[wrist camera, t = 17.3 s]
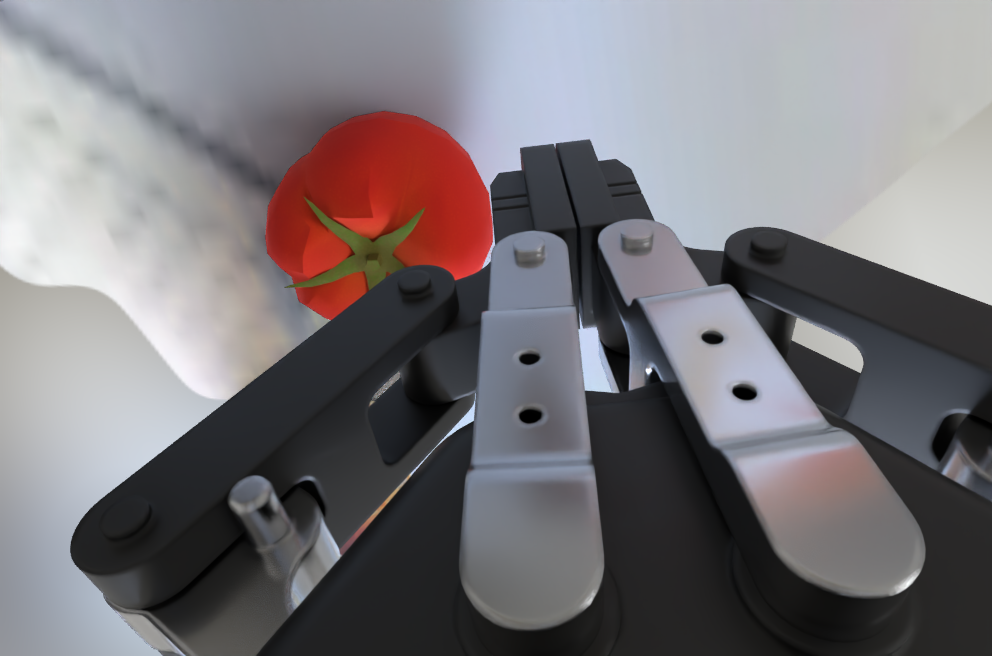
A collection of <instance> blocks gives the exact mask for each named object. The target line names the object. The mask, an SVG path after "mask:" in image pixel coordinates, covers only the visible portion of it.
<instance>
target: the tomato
mask: <svg viewBox="0 0 992 656" xmlns="http://www.w3.org/2000/svg"><path fill="white" fill-rule="evenodd" d="M265 239H266V246H267V254H268V255H269V256H270V257H271V258H272V259H273V260H274V261H275V263H276V264H277V265H278V266H279V267H280V268H281V269H282V270H284V271H285V272H286V273H287V274H289V275H290V276H291V277H292V280H293V283H294V284H292V285H289V286H287V287H284V288H293V287H295V290H296V294H297V297H298V300H299V302H301V303H302V304H304V305H305V306H307V307H309V308H310V309H312V310H313V311H315V312H316V313H318V314H320V315H321V316H323V317H324V318H326V319H329V320H332V319H333V318H335V317H336V316H337V315H338V314H340V313H341V312H342V311H344V310H345V309H346V308H347V307H349V306H350V305H351V304H353V303H354V302H355V301H356V300H358V299H359V298H360V297H362V296H363V295H364V294H365V293H367V292H368V291H369V290H371V289H372V288H373V287H374V286H376V285H377V284H378V283H380V282H381V281H382V280H383V279H385V278H386V277H387V276H389V275H390V274H392V273H394V272H396V271H398V270H400V269H403V268H406V267H410V266H415V265H434V266H439V267H442V268H444V269H446V270H448V271H449V272H450V273H451V274H452V275H453V277H454V278H455V280H458V279H461V278H464V277H467V276H469V275H472V274H474V273H476V272H478V271H480V270H481V269H482V266H483V264H484V261H485V259H486V257H487V254H488V252H489V250H490V247H491V245H492V242H493V227H492V216H491V208H490V200H489V193H488V191H487V189H486V187H485V185H484V183H483V181H482V179H481V177H480V175H479V173H478V171H477V169H476V167H475V166H474V164H473V162H472V160H471V158H470V156H469V154H468V152H466V151H465V150H464V149H463V148H462V147H461V146H460V145H459V144H458V143H457V142H456V141H455V140H454V139H453V138H452V137H451V136H450V135H449V134H448V133H447V132H446V131H445V130H443V129H441V128H439V127H437V126H435V125H433V124H431V123H429V122H427V121H425V120H423V119H421V118H419V117H417V116H414V115H407V114H401V113H394V112H388V111H381V112H376V113H371V114H366V115H361V116H356V117H353V118H351V119H349V120H347V121H345V122H343V123H341V124H339V125H337V126H335V127H333V128H331V129H330V130H329V131H328V132H327V133H325V134H324V135H323V137H322V138H321V139H320V140H319V142H318V143H317V144H316V145H315V147H314V148H313V149H312V151H311V152H310V153H308V154H307V155H305V156H303V157H302V158H300V159H299V160H298V161H297V162H296V163H295V164H293V165H292V166H291V167H290V168H289V170H288V171H287V173H286V175H285V176H284V178H283V180H282V181H281V183H280V185H279V186H278V188H277V190H276V192H275V194H274V195H273V197H272V199H271V201H270V203H269V205H268V211H267V223H266V235H265Z"/></svg>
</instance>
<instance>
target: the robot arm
mask: <svg viewBox="0 0 992 656" xmlns="http://www.w3.org/2000/svg"><path fill="white" fill-rule="evenodd" d="M1 1H3V0H0V2H1ZM520 154H521V167H522V170H521V171H512V172H504V173H499V174H498V175H497V176H496V178H495V179H494V181H493V182H492V184H491V185H490V190H491V201H492V213H493V225H494V236H495V246H494V248H493V250H492V253H491V262H490V263H489V264H488V265H487V266H486V267H484V268H483V269H481V270H480V271H478V272H476V273H474V274H472V275H469V276H467V277H464V278H461V279H458V280H455V278H454V277H453V275H452V274H451V273H450V272H449V271H448V270H446V269H444V268H442V267H439V266H434V265H415V266H410V267H406V268H403V269H400V270H398V271H396V272H394V273H392V274H390V275H389V276H387V277H386V278H385V279H383V280H382V281H381V282H380V283H378V284H377V285H376V286H374V287H373V288H372V289H371V290H369V291H368V292H367V293H365V294H364V295H363V296H362V297H360V298H359V299H358V300H356V301H355V302H354V303H353V304H351V305H350V306H349V307H347V308H346V309H345V310H344V311H342V312H341V313H340V314H338V315H337V316H336V317H335V318H333V319H332V320H331V321H329V322H328V323H327V324H326V325H324V326H323V327H322V328H320V329H319V330H318V331H317V332H315V333H314V334H313V335H311V336H310V337H309V338H308V339H306V340H305V341H304V342H302V343H301V344H300V345H299V346H297V347H296V348H295V349H293V350H292V351H291V352H290V353H288V354H287V355H286V356H284V357H283V358H282V359H281V360H279V361H278V362H277V363H275V364H274V365H273V366H272V367H270V368H269V369H268V370H266V371H265V372H264V373H263V374H261V375H260V376H259V377H257V378H256V379H255V380H254V381H252V382H251V383H250V384H248V385H247V386H246V387H245V388H243V389H242V390H241V391H239V392H238V393H237V394H236V395H234V396H233V397H232V398H230V399H229V400H228V401H227V402H225V403H224V404H223V405H221V406H220V407H219V408H218V409H216V410H215V411H214V412H212V413H211V414H210V415H209V416H207V417H206V418H205V419H203V420H202V421H201V422H200V423H198V424H197V425H196V426H194V427H193V428H192V429H191V430H189V431H188V432H187V433H186V434H184V435H183V436H182V437H180V438H179V439H178V440H176V441H175V442H174V443H173V444H171V445H170V446H169V447H167V448H166V449H165V450H164V451H162V452H161V453H160V454H158V455H157V456H156V457H155V458H153V459H152V460H151V461H149V462H148V463H147V464H146V465H144V466H143V467H142V468H141V469H139V470H138V471H137V472H135V473H134V474H133V475H131V476H130V477H129V478H128V479H126V480H125V481H124V482H122V483H121V484H120V485H119V486H117V487H116V488H115V489H113V490H112V491H111V492H110V493H108V494H107V495H106V496H105V497H103V498H102V499H101V500H100V501H98V502H97V503H96V504H95V505H94V506H93V507H92V508H91V509H90V510H89V511H88V512H87V513H86V514H85V516H84V517H83V518H82V519H81V521H80V522H79V524H78V526H77V527H76V529H75V532H74V534H73V536H72V540H71V546H70V553H71V557H72V560H73V561H74V563H75V565H76V566H77V567H78V568H79V569H80V570H81V571H82V572H83V573H84V574H85V575H86V576H87V577H88V578H89V579H90V580H91V581H92V582H93V584H94V585H95V586H96V587H97V588H98V589H99V590H100V591H101V592H102V593H103V595H104V598H105V600H106V602H107V603H108V604H109V605H110V607H111V608H113V610H114V611H115V612H116V613H117V614H118V615H119V616H120V617H121V618H122V619H123V620H124V621H125V622H126V623H127V624H128V625H129V626H130V627H131V628H132V629H133V630H134V631H135V632H136V633H137V634H138V635H139V636H140V637H141V638H142V639H143V640H144V642H145V643H146V644H147V645H149V646H150V647H152V648H154V649H157V650H158V651H159V652H160V653H161V654H162V655H163V656H992V306H991V305H988V304H986V303H983V302H980V301H977V300H975V299H972V298H969V297H967V296H964V295H961V294H958V293H955V292H953V291H950V290H947V289H945V288H942V287H939V286H937V285H934V284H931V283H928V282H926V281H923V280H920V279H917V278H915V277H912V276H909V275H906V274H904V273H901V272H898V271H895V270H893V269H890V268H887V267H885V266H882V265H879V264H877V263H874V262H871V261H868V260H866V259H863V258H860V257H857V256H854V255H852V254H849V253H847V252H844V251H841V250H838V249H836V248H833V247H830V246H827V245H825V244H822V243H819V242H817V241H814V240H811V239H808V238H806V237H803V236H800V235H797V234H795V233H792V232H789V231H786V230H782V229H778V228H771V227H754V228H747V229H743V230H740V231H738V232H736V233H734V234H732V235H731V236H730V237H729V238H728V239H727V240H726V243H725V248H724V251H712V250H700V249H693V248H688V247H684V246H682V244H681V242H680V241H679V239H678V238H677V236H676V235H675V233H674V232H673V231H672V230H671V229H670V228H669V227H667V226H666V225H664V224H662V223H659V222H656V221H655V220H654V218H653V216H652V214H651V212H650V209H649V207H648V205H647V203H646V201H645V199H644V196H643V194H641V190H640V188H639V185H638V184H637V181H636V179H635V177H634V175H633V172H632V170H631V169H630V168H629V167H627V166H626V165H624V164H623V163H621V162H620V161H618V160H617V159H612V160H604V161H598V159H597V156H596V154H595V151H594V149H593V146H592V143H591V141H590V139H589V140H580V141H572V142H564V143H556V147H554V144H548V145H540V146H531V147H523V148H520ZM579 313H580V317H581V322H582V326H583V329H584V328H593V327H597V330H598V334H599V358H600V361H601V363H602V366H603V369H604V372H605V374H606V377H607V380H608V382H609V385H610V388H611V391H612V393H609V392H596V391H585V388H584V379H583V370H582V360H581V351H580V342H579V332H578V329H580V320H579ZM796 318H800V319H802V320H804V321H807V322H809V323H811V324H813V325H815V326H817V327H820V328H822V329H824V330H826V331H828V332H831V333H833V334H835V335H837V336H840V337H842V338H844V339H846V340H848V341H850V342H851V343H853V344H854V345H855V346H856V347H857V348H858V350H859V351H860V353H861V355H862V357H863V361H864V365H863V369H862V372H861V373H859V372H857V371H855V370H853V369H850V368H848V367H846V366H844V365H842V364H840V363H838V362H836V361H834V360H832V359H829V358H827V357H825V356H823V355H821V354H819V353H817V352H815V351H813V350H811V349H809V348H806V347H804V346H802V345H800V344H798V343H796V342H794V341H792V340H791V339H792V335H793V330H794V327H795V322H796ZM398 371H399V373H400V378H399V379H398V380H397V381H396V382H395V383H394V384H393V385H392V386H391V387H390V388H389V389H387V390H386V391H385V392H384V393H383V394H382V395H381V396H380V397H379V398H378V399H377V400H376V401H375V402H373V403H372V404H371V405H370V402H371V400H372V398H373V396H374V394H375V393H376V392H377V391H378V390H379V388H381V387H382V386H383V385H384V384H385V383H386V382H387V381H388V380H389V379H390V378H391V377H393V376H394V375H395V374H396V373H397V372H398ZM475 393H476V400H475ZM474 401H475V415H474V421H473V422H471V423H469V424H467V425H466V426H464V427H462V428H460V429H459V430H457V431H456V432H454V433H453V434H452V435H450V436H449V437H447V438H446V439H445V440H444V441H443V442H442V443H441V444H439V445H438V443H439V442H440V441H441V440H442V439H443V438H444V437H445V436H446V435H447V434H448V433H449V432H450V431H451V430H452V428H453V427H454V426H455V425H456V424H457V423H458V422H459V421H460V420H461V419H462V418H463V417H464V416H465V414H466V413H467V412H468V411H469V410H470V409H471V407H472V406H473V404H474ZM369 405H370V406H369ZM437 445H438V446H437ZM436 446H437V447H436ZM435 447H436V448H435ZM434 448H435V449H434ZM433 449H434V450H433ZM432 450H433V452H432V453H431V454H430V455H429V456H428V457H427V458H426V459H425V457H426V456H427V455H428V454H429V453H430V452H431V451H432ZM424 459H425V461H424V462H423V463H422V464H421V465H420V466H419V468H418V469H417V470H416V471H415V472H414V473H413V474H412V476H411V477H410V478H409V479H408V480H407V481H406V483H405V484H404V485H403V486H402V487H401V488H400V489H399V491H398V492H397V493H396V494H395V495H394V496H393V497H392V499H391V500H390V501H389V502H388V503H387V504H386V506H385V507H384V508H383V509H382V510H381V511H380V512H379V514H378V515H377V516H376V517H375V518H374V519H373V521H372V522H371V523H370V524H369V525H368V526H367V527H366V529H365V530H364V531H363V532H362V533H361V534H360V535H359V537H358V538H357V539H356V540H355V541H354V542H353V544H352V545H351V546H350V547H349V548H348V549H347V550H346V552H345V553H344V554H343V555H342V556H341V557H340V552H339V550H340V549H341V548H342V547H343V545H344V544H345V543H346V542H347V541H348V540H349V539H350V538H351V537H352V536H353V535H354V534H355V533H356V532H357V530H358V529H359V528H360V527H361V526H362V525H363V524H364V523H365V522H366V521H367V520H368V519H369V518H370V516H371V515H372V514H373V513H374V512H375V511H376V510H377V509H378V508H379V507H380V506H381V505H382V504H383V503H384V501H385V500H386V499H387V498H388V497H389V496H390V495H391V494H392V493H393V492H394V491H395V490H396V489H397V487H398V486H399V485H400V484H401V483H402V482H403V481H404V480H405V479H406V478H407V477H408V476H409V475H410V474H411V472H412V471H413V470H414V469H415V468H416V467H417V466H418V465H419V464H420V463H421V462H422V461H423V460H424Z"/></svg>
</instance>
